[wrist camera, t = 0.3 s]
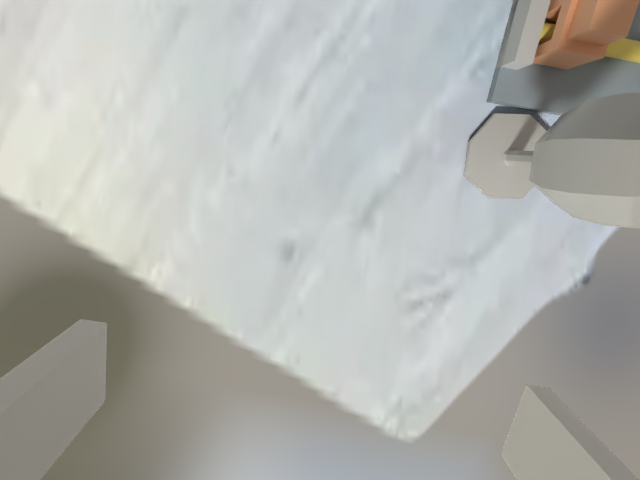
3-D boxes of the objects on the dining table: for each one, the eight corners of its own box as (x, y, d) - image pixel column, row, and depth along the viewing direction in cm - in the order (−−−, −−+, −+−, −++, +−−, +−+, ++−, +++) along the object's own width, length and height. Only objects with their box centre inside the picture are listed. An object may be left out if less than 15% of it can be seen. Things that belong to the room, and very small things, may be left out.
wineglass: (447, 182, 37) (613, 224, 16) (486, 98, 35) (729, 26, 14) (522, 211, 38) (767, 285, 17) (563, 130, 36) (897, 106, 15)
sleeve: (541, 6, 32) (600, -32, 25) (583, 14, 32) (653, -21, 25) (525, 61, 33) (578, 39, 26) (566, 69, 33) (629, 49, 26)
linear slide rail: (523, -39, 32) (561, -73, 27) (699, -3, 33) (766, -29, 28) (486, 101, 35) (514, 94, 30) (648, 131, 36) (701, 128, 31)
